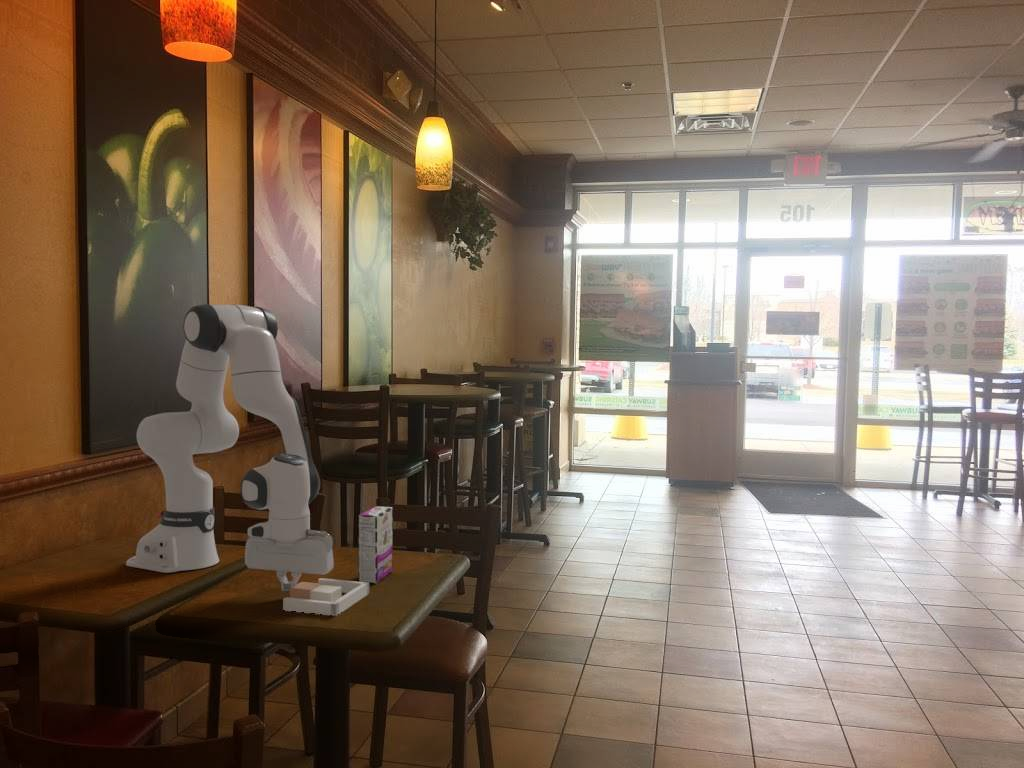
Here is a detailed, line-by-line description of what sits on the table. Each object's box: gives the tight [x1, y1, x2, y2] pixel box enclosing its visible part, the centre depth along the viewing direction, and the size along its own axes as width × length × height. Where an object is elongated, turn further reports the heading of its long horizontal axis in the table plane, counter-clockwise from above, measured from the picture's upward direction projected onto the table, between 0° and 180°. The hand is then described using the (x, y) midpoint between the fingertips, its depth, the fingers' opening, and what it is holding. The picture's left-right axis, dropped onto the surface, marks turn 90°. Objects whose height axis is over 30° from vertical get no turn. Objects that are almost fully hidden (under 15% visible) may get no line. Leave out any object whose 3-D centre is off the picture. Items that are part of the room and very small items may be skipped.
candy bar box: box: [358, 505, 394, 584], centre depth 194 cm, size 11×5×16 cm, turn 168°
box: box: [282, 577, 370, 617], centre depth 174 cm, size 12×16×2 cm
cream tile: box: [310, 585, 343, 602], centre depth 174 cm, size 5×5×3 cm
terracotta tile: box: [289, 581, 322, 600], centre depth 176 cm, size 5×5×3 cm
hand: (289, 590), depth 176 cm, fingers closed
